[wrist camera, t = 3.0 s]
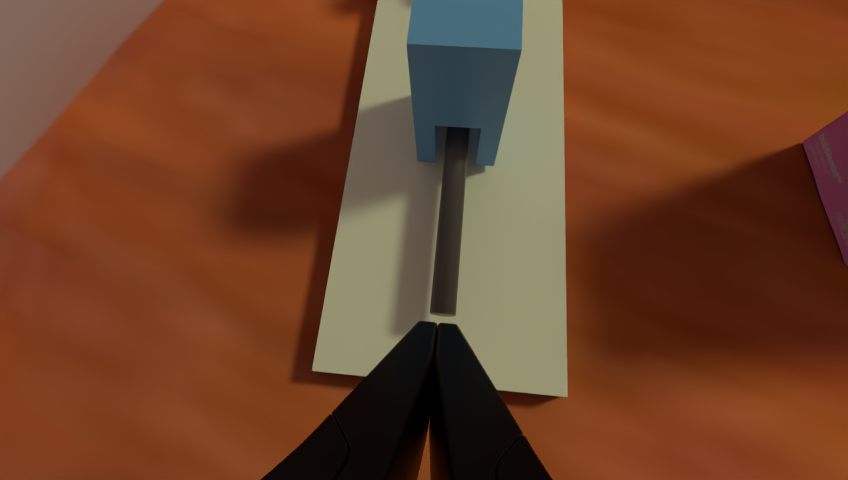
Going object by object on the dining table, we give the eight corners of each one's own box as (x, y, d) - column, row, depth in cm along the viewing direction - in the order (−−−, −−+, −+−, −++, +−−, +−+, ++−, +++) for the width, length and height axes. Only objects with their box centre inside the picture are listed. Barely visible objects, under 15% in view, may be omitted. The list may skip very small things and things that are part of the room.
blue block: (493, 166, 23) (521, 49, 15) (417, 160, 24) (406, 43, 16) (497, 90, 25) (524, -50, 17) (426, 86, 25) (420, -53, 17)
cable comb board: (560, 396, 21) (607, 398, 15) (318, 371, 22) (273, 363, 16) (556, -51, 31) (584, -154, 25) (392, -57, 32) (381, -159, 26)
